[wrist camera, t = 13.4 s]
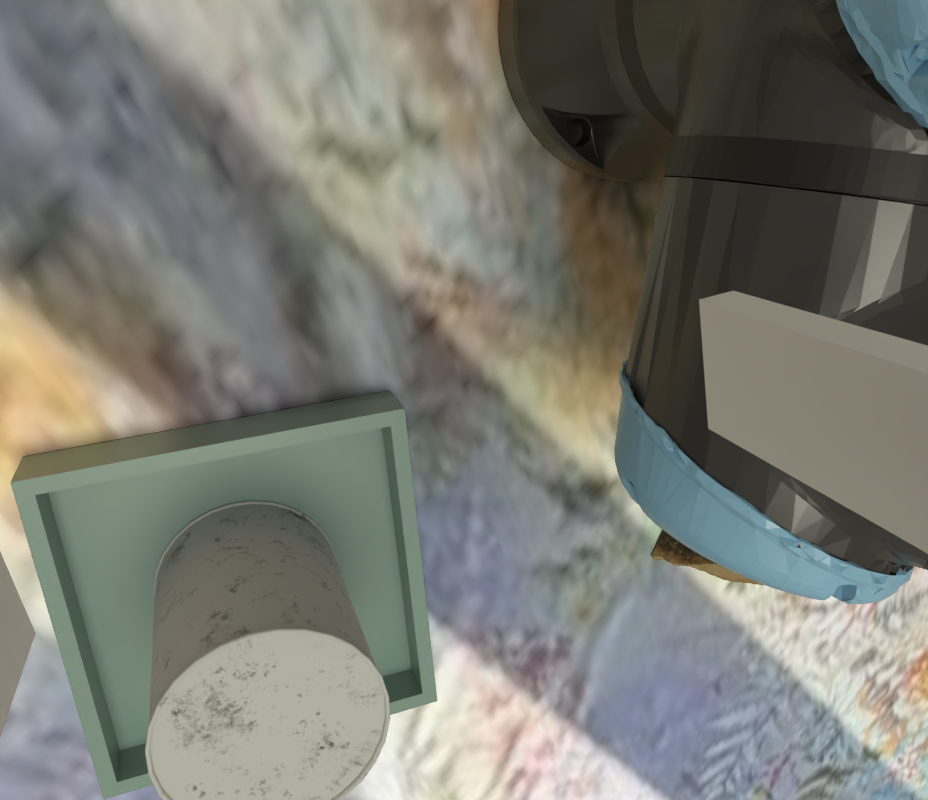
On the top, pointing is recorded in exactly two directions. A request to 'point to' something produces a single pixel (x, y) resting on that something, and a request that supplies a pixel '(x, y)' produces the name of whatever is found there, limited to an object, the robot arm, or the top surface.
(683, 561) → the rock
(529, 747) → the top surface
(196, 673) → the speckled white canister
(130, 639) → the tray
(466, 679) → the top surface
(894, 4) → the robot arm
